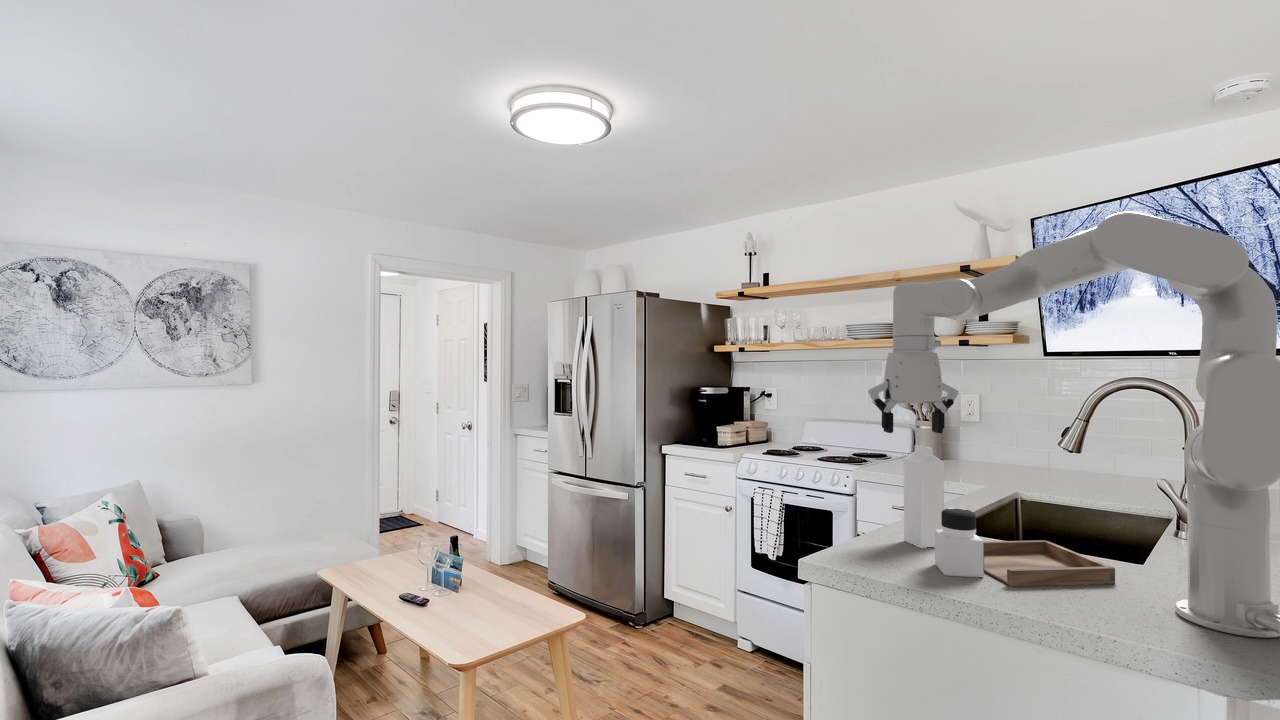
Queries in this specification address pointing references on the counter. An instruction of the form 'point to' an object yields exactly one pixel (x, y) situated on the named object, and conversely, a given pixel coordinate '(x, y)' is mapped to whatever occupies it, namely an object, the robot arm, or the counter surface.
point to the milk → (923, 496)
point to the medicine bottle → (959, 544)
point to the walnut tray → (1042, 564)
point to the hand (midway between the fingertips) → (912, 432)
